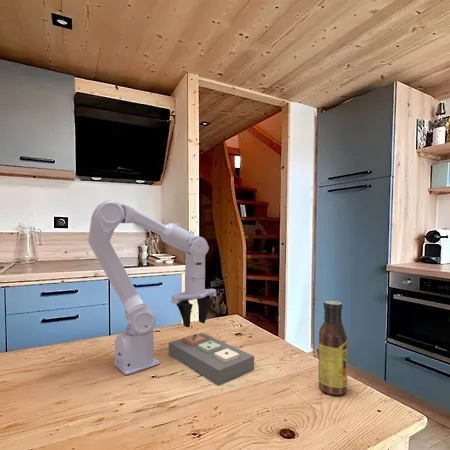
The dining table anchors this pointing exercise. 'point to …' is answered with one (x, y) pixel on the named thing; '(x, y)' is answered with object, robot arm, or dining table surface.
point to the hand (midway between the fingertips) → (194, 324)
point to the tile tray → (211, 360)
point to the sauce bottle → (332, 351)
